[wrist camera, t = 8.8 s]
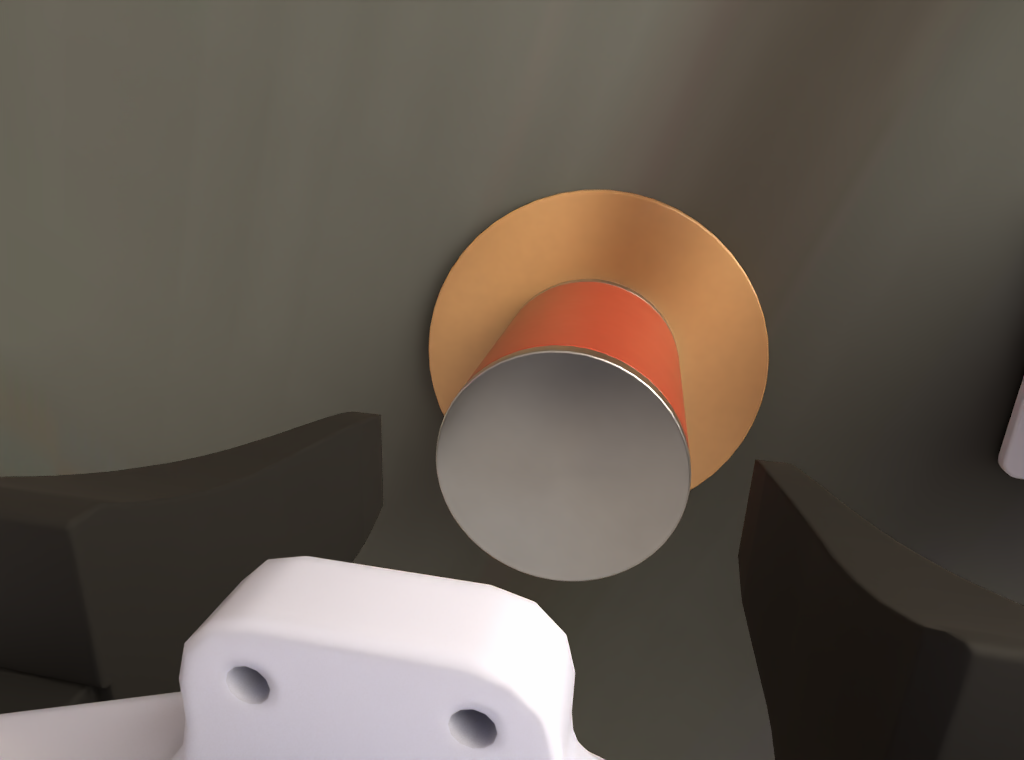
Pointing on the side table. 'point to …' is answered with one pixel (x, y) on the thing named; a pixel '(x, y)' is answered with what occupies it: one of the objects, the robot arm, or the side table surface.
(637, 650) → the side table surface
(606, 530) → the tin can
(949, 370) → the side table surface
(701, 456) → the cork coaster
